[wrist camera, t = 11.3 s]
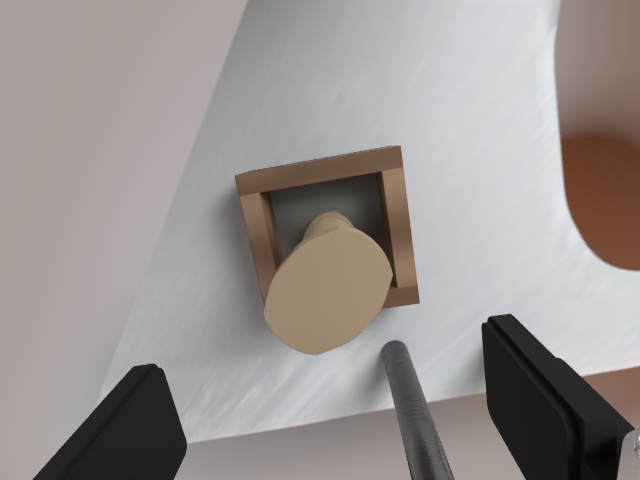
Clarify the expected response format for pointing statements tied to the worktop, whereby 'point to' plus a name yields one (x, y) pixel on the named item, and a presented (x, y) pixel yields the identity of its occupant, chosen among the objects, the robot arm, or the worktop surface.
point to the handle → (327, 286)
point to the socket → (325, 196)
